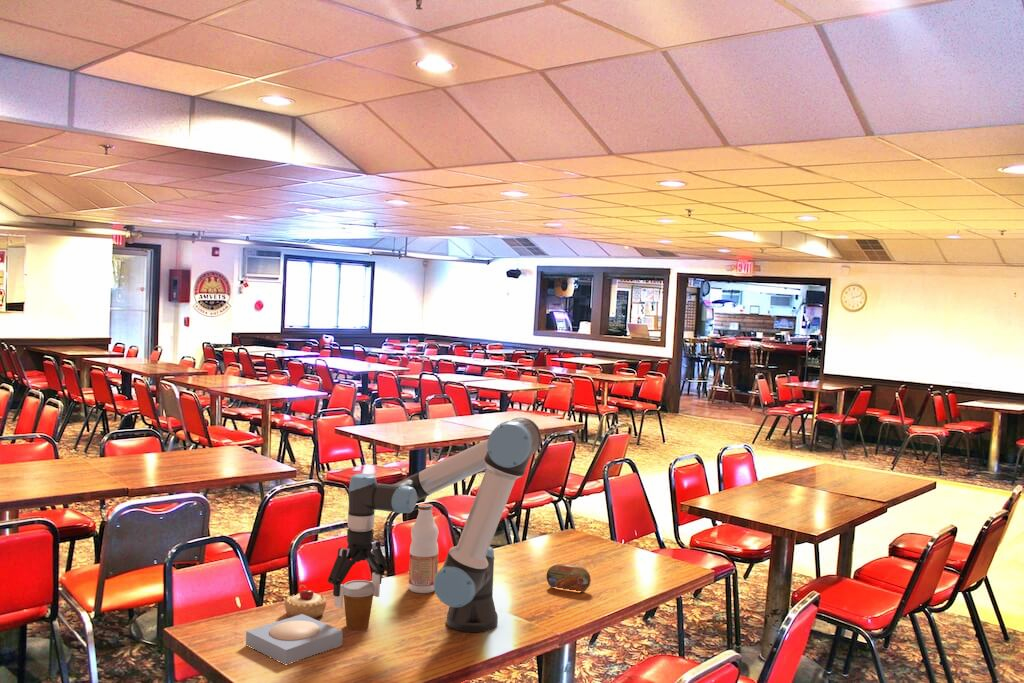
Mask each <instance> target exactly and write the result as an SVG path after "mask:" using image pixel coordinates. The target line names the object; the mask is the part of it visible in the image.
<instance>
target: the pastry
mask: <svg viewBox="0 0 1024 683" xmlns="http://www.w3.org/2000/svg"><path fill="white" fill-rule="evenodd" d="M302 586H303V587H304V588H305V589H306V590H304V589H303V590H301V591H300V592H298V593H296V595H295V594H292V595H288V597H286V598H285V600H284V609H285V612H286V614H287V616H288V618H291V617H294V616H297V615H301V614H304V615H306V616H308V617H311V618H313V619H318V618H320V617H321V616H322V615H323V614H324V612H325V610H326V608H327V599H326V597H325V596H324V595H323V594H320V593H316V592H314V591H313V590H311V589H308V588H307V587H306V585H304V584H300V585H299V589H301V587H302Z"/></svg>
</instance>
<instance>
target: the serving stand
mask: <svg viewBox="0 0 1024 683" xmlns="http://www.w3.org/2000/svg"><path fill="white" fill-rule="evenodd" d="M245 632H246V633H245V646H246V645H248V646H250V647H252V648H254V649H255V650H257V651H259V652H261V653H263V654H265V655H267V656H269V657H271V658H273V659H275V660H278V661H280V662H282V663H284V664H289V663H291V662H294V661H297V660H300V659H303V658H306V657H309V656H311V657H313V656H312V655H314V656H316V655H315V654H317V655H319V654H318V653H320V654H322V653H325V652H328V651H331V650H333V648H334V649H336V648H339V647H342V646H343V632H344V631H343V630H342V629H339V628H337V627H335V626H332V625H330V624H327V623H326V622H322V621H320V620H318V619H317V618H315V619H313V618H311V617H308V616H306V615H304V614H301V615H297V616H294V617H291V618H290V617H288V618H285V619H284V618H283V619H281V620H278V621H275V622H271V623H268V624H265V625H262V626H259V627H255V628H252V629H249V630H245ZM341 645H342V646H341ZM338 646H339V647H338ZM330 649H331V650H330ZM255 650H254V651H255ZM327 650H328V651H327ZM257 651H256V652H257ZM324 651H325V652H324ZM259 652H258V653H259ZM321 652H322V653H321ZM261 653H260V654H261ZM263 654H262V655H263ZM265 655H264V656H265ZM267 656H266V657H267ZM269 657H268V658H269ZM271 658H270V659H271ZM309 658H310V657H309ZM273 659H272V660H273ZM306 659H307V658H306ZM275 660H274V661H275ZM303 660H304V659H303ZM300 661H301V660H300ZM297 662H298V661H297ZM289 665H290V664H289Z"/></svg>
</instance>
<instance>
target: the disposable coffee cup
mask: <svg viewBox="0 0 1024 683" xmlns="http://www.w3.org/2000/svg"><path fill="white" fill-rule="evenodd" d="M343 585H344V588H343V603H344V604H343V605H344V613H345V623H346V628H347V629H349V628H350V629H349V630H352V629H354V630H353V631H359V630H360V629H361V630H364V628H365V629H367V628H368V627H369V625H370V619H371V611H372V606H373V598H374V596H373V594H374V591H375V587H374V584H373V583H372V581H370V580H364V579H363V580H362V579H355V580H350V581H347V582H345V583H344V584H343ZM366 627H367V628H366ZM361 630H360V631H361Z"/></svg>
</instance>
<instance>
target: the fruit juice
mask: <svg viewBox="0 0 1024 683" xmlns="http://www.w3.org/2000/svg"><path fill="white" fill-rule="evenodd" d="M433 509H434V506H433V504H431V503H419V504H418V505H417V510H418V514H417V517H416V520H415V522H414V523H413V524H412V527H411V530H410V536H411V543H410V546H409V566H408V567H409V568H408V573H409V574H408V589H409V591H410V592H412V593H416V594H429V593H430V594H431V593H433V592H435V590H434V580H435V577H436V575H437V573H438V571H439V543H438V537H439V528H438V525H437V523H436V522H435V519H434V516H433Z"/></svg>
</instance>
